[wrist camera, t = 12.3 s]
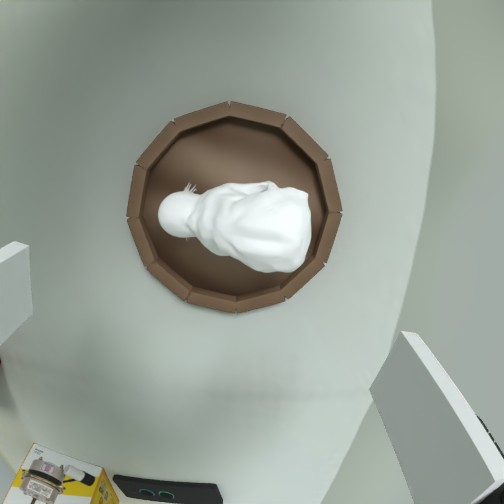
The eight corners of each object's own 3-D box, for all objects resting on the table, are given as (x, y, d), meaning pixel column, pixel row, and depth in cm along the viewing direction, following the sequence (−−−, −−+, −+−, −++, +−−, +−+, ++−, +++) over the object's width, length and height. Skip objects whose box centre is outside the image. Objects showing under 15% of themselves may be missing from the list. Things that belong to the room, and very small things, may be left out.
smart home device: (110, 478, 43) (215, 488, 42) (113, 471, 44) (216, 480, 44) (126, 497, 45) (223, 506, 45) (128, 491, 47) (223, 499, 46)
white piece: (306, 292, 21) (134, 271, 21) (300, 252, 29) (171, 238, 29) (321, 197, 19) (132, 181, 19) (308, 182, 27) (174, 171, 27)
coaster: (158, 91, 25) (151, 87, 23) (356, 139, 27) (363, 138, 25) (126, 277, 31) (119, 285, 29) (300, 317, 32) (303, 327, 30)
